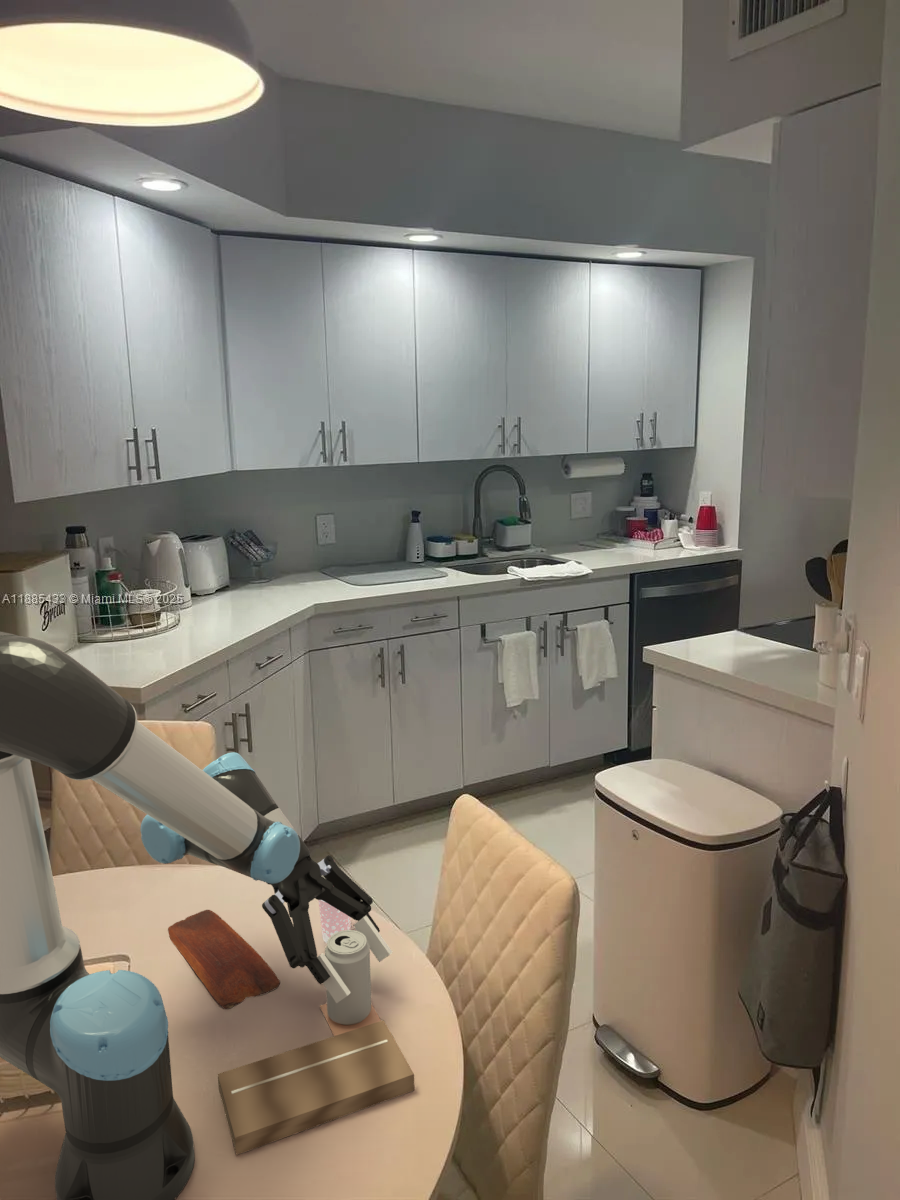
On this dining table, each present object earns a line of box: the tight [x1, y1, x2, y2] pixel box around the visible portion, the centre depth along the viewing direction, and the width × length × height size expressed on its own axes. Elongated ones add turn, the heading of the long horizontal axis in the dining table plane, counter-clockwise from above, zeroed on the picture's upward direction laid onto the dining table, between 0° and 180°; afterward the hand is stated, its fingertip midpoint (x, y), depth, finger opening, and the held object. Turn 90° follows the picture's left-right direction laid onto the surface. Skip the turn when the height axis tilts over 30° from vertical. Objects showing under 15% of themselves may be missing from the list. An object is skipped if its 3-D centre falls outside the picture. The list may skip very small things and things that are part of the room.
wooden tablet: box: [167, 909, 281, 1010], centre depth 141 cm, size 27×10×2 cm, turn 37°
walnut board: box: [217, 1019, 415, 1156], centre depth 113 cm, size 23×11×3 cm, turn 115°
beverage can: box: [324, 929, 372, 1025], centre depth 125 cm, size 6×6×12 cm
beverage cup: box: [317, 859, 352, 944], centre depth 143 cm, size 6×6×14 cm
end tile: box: [319, 1003, 382, 1037], centre depth 127 cm, size 7×7×1 cm
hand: (365, 976), depth 123 cm, fingers open, 10 cm apart
